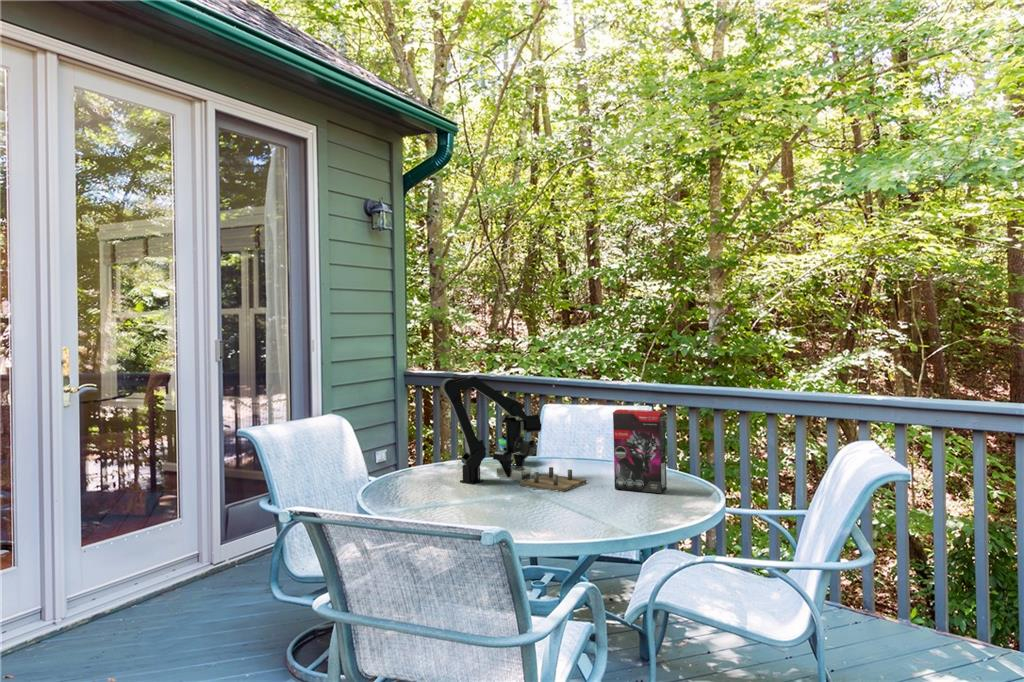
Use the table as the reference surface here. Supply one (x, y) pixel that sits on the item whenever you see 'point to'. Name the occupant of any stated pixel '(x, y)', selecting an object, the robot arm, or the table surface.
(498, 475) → the drive
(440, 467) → the table surface
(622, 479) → the graphics card box
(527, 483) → the wooden peg board
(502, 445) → the snack cup
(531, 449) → the robot arm
